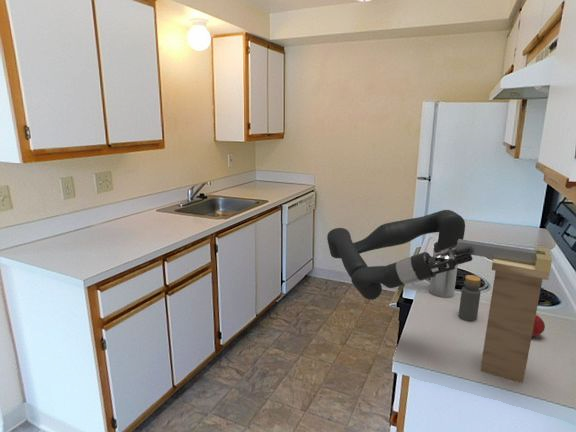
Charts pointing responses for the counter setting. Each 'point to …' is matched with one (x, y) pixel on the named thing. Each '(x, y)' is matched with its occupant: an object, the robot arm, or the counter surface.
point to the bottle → (470, 298)
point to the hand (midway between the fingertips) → (472, 251)
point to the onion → (538, 326)
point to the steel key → (508, 253)
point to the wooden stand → (511, 318)
